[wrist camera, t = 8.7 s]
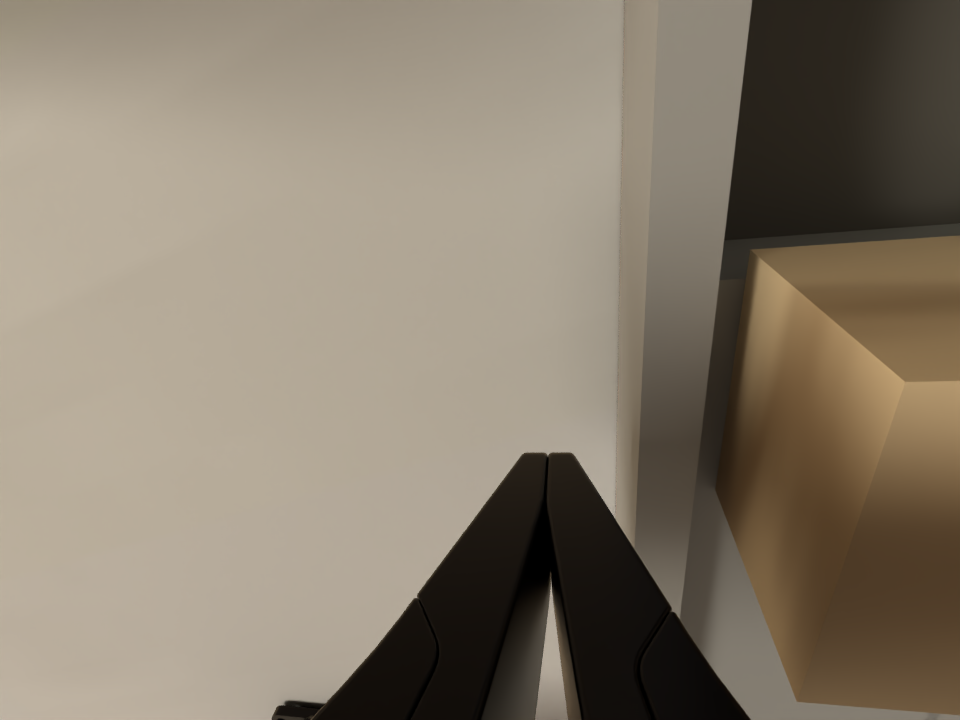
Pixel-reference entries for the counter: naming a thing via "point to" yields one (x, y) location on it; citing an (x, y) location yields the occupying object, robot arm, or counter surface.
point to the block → (851, 467)
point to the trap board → (754, 225)
